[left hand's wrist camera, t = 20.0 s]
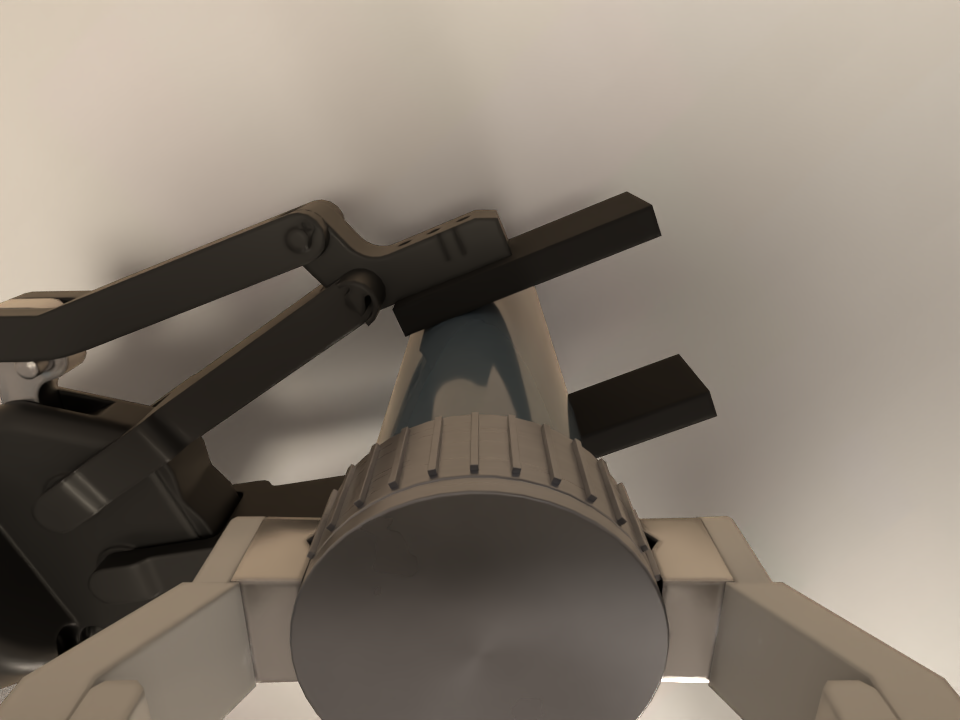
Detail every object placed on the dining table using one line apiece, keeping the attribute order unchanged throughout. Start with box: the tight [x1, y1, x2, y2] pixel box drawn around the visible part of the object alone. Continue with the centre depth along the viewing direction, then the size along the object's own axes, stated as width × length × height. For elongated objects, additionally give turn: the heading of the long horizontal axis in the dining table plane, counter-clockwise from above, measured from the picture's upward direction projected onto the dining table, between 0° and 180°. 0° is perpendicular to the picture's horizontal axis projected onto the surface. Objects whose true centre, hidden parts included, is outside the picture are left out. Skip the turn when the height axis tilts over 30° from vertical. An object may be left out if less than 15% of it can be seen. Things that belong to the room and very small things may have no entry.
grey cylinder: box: [377, 286, 585, 449], centre depth 16 cm, size 4×4×15 cm
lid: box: [290, 412, 669, 720], centre depth 9 cm, size 5×5×2 cm
